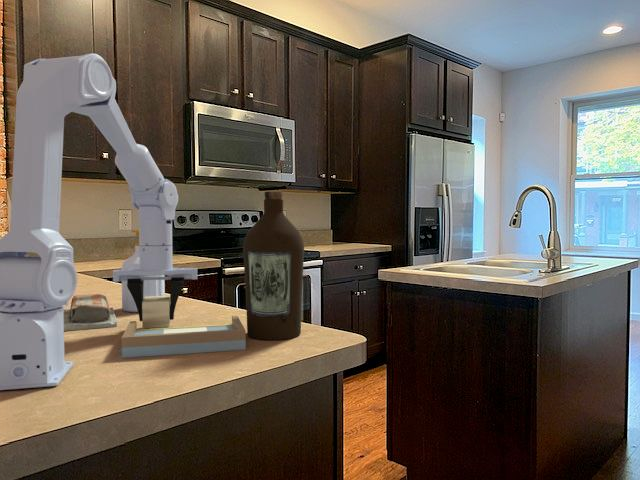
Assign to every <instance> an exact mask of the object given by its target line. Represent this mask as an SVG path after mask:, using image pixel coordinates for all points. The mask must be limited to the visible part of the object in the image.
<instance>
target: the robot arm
mask: <svg viewBox="0 0 640 480" xmlns="http://www.w3.org/2000/svg"><path fill="white" fill-rule="evenodd" d="M116 93H117V81H116V79H115V78H114V77H113V73H112V70H111V68H110V66H109V65H108V63H107V61H106V60H105V59H104V58H103V57H102V56H101V55H99V54H97V53H92V52H91V53H86V54H83V55H75V56H65V57H64V56H63V57H55V58H37V59H34V60H32V61H30V62H27V63H25V64H24V65H23V81H22V82H21V84H20V85H19V88H18V90H17V92H16V94H17V95H16V103H15V104H16V105H15V120H14V121H15V123H14V125H15V126H14V145H13V148H14V149H13V163H12V165H13V166H12V182H11V183H12V185H11V186H12V187H11V203H10V225H9V231H8V232H7V233H6V234H4V235H3V236H2V237H0V391H5V390H7V391H8V390H19V389H21V390H22V389H30V388H31V389H32V388H44V387H45V388H46V387H55V386H58V385H59V383H60V382H61V381H62V380H63V378H64V377H65V376H66V374H67V373H68V372H69V371H70V369H71V368H72V367H73V365H74V361H71V360H69V361H68V360H67V361H66V360H65V331H64V314H63V310H64V307H68V305H69V301H71V300H72V298H73V296H74V294H75V292H76V290H77V287H78V272H77V269H76V266H75V262H74V248H73V246H72V245H71V244H70V243H69V242H68V241H67V240H66V239H65V238H64V237H63V236H62V235H61V234H60V216H61V215H60V214H61V213H60V212H61V199H62V197H61V196H62V193H61V192H62V176H63V175H62V174H63V172H62V171H63V154H64V153H63V151H64V150H63V149H64V133H65V132H64V131H65V130H64V129H65V127H64V126H65V117H66V116H67V115H69V114H70V113H75V114H79V115H83V116H86V117H89V118H90V119H91V121H92V122H93V123H94V125H95V126H96V128H97V129H98V130H99V131H100V133H101V134H102V135H103V137H104V138H105V139H106V141H107V142H108V143H109V144H110V146H111V147H112V149H113V150H114V151H115V157H114V163H115V166H116V167H117V169H118V170H119V172H120V173H121V175H122V176H123V178H124V179H125V181H126V182H127V184H128V191H129V193H130V201H131V204H132V205H133V207H134V208H136V210H138V230H139V236H138V243H139V245H140V246H139V259H140V269H127V270H122V269H114V270H113V271H112V282H113V283H117V282H122V281H127V287H128V289H129V291H130V293H131V295H132V297H133V299H134V301H135V304H136V307H137V310H138V312H137V314H138V317H139V322H142V302H143V287H144V280H165V281H168V280H169V296H170V321H171V320H172V321H173V320H175V319H174V318H175V310H176V306H177V303H178V300H179V297H180V295H181V291H182V290H183V287H184V285H185V280H198V268H197V267H173V263H174V262H173V260H174V259H173V220H175V217H176V207H177V206H178V203H179V195H178V189H177V187H176V184H174V182H172V181H171V180H169V179H167V178H164V176H163V174H162V172H161V171H160V168H159V167H158V165H157V164H156V162H155V160H154V158H153V157H152V155H151V153H150V151H149V149H148V147H146V146H145V145H143V144H139V143H137V142H136V140H135V138H134V137H133V134H132V132H131V130H130V128H129V125H128V123H127V121H126V119H125V118H124V115H123V113H122V110H121V108H120V107H119V105H118V103H117V100H116V98H115V97H116ZM30 253H31V254H32V253H33V254H36V255H38V256H28V255H29V254H30ZM158 275H164V277H145V276H158Z"/></svg>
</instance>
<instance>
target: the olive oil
mask: <svg viewBox="0 0 640 480" xmlns="http://www.w3.org/2000/svg"><path fill="white" fill-rule="evenodd" d="M283 194H284V193H283V191H264V195H263V197H264V199H263V211H264V212H263V214H262V216H260V218H259V219H258V220H257V221H256V222H255V224H254V225H253V226H252V227H251V228H250V229H249V230H248V231H247V233H246V235H245V237H244V242H243V246H242V252H243V254H242V255H243V268H244V283H245V284H244V285H245V288H244V289H245V301H246V302H245V306H246V307H245V308H246V309H245V310H246V331H247V336H248V337H250V338H251V339H255V340H256V339H257V340H263V341H279V340H281V341H282V340H289V339H293V338H296V337H299V336H300V335H301V334H302V333H301V332H302V302H303V281H304V279H303V278H304V263H305V262H304V260H305V259H304V258H305V245H304V240H303V238H302V237H303V236H302V234H301V233H300V231H299V230H298V229H297V227H296V226H295V225H294V224H293V223H292V222H291V221H290V220H289V219H288V218H287V216H286V215H285V214H284V199H283Z"/></svg>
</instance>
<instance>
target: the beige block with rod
mask: <svg viewBox="0 0 640 480" xmlns="http://www.w3.org/2000/svg"><path fill="white" fill-rule="evenodd" d="M141 322H142V326H141V327H142V329H151V328H169V327H171V326H170V324H171V320H170V295H165V296H147V297H145V298H144V300H143V302H142V321H141Z"/></svg>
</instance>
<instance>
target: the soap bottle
mask: <svg viewBox="0 0 640 480" xmlns="http://www.w3.org/2000/svg"><path fill="white" fill-rule="evenodd" d="M131 233H135V234H136V235H135V236H136V237H139V229H137V230H136V229H132V230H131ZM139 246H140V245H139V242H135V243H134V251H135V252H134V253H133V254H132V255H130V256H129V257H128V258H127V259H125V260H124V261H123V262H122V265H121V267H120V268H121V270H127V269H140V259H139ZM145 277H165V275H158V276H145ZM165 281H166V280H144V287H143V300H144V298H145V297H147V296H166V295H165V294H166V293H165V292H166V291H165V290H166V289H165V287H166V286H165V285H166V284H165ZM121 308H122V310H123V311H124V312H127V313H138V310H137V307H136V304H135V301H134V299H133V297H132V295H131V293H130V291H129V289H128V287H127V281H121Z"/></svg>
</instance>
